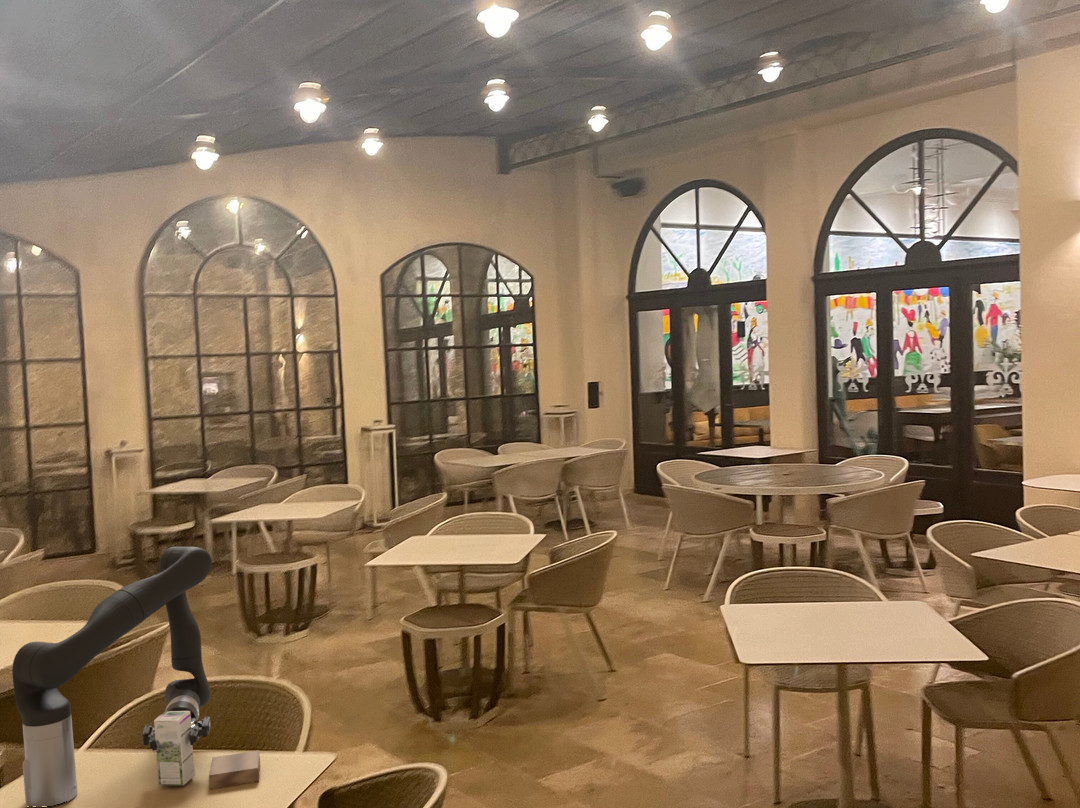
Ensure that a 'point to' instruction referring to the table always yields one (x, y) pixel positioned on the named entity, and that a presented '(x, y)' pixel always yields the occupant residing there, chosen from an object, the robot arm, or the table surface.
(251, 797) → the table surface
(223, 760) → the brown box
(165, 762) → the syrup box
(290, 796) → the table surface
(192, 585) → the robot arm
